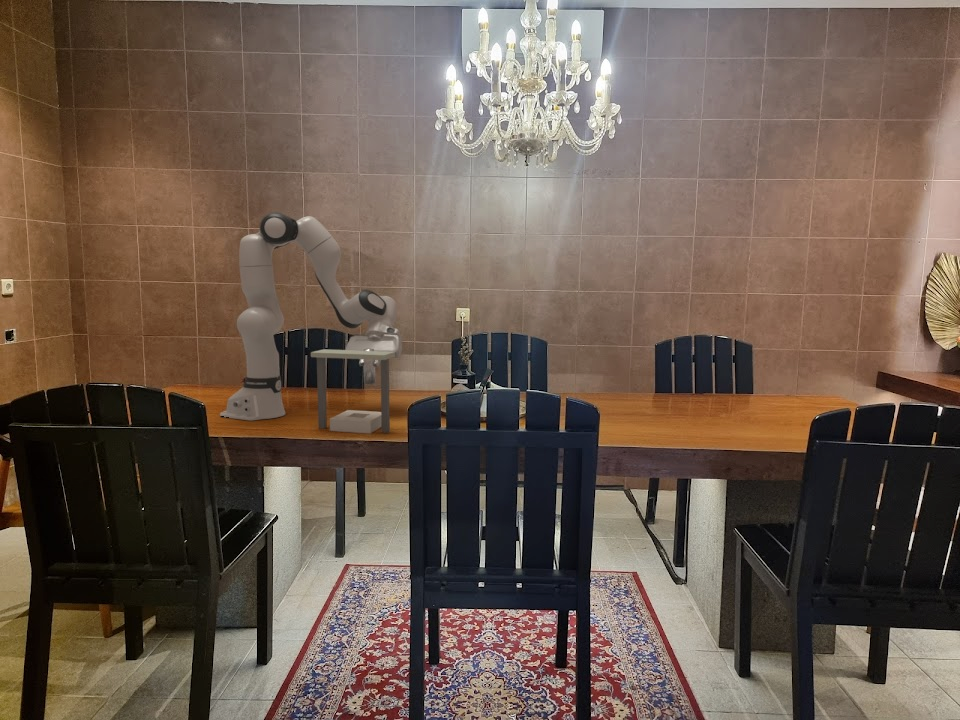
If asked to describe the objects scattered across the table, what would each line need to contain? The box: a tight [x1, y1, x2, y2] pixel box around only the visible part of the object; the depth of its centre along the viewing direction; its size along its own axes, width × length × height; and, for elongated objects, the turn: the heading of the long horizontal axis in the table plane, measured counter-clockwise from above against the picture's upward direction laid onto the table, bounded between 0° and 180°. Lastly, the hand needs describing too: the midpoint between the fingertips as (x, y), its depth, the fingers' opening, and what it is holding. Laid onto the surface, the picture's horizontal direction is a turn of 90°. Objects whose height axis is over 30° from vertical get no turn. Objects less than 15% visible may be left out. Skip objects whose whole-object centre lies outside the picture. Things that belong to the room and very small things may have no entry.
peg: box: [362, 349, 377, 385], centre depth 225 cm, size 4×4×12 cm
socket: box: [329, 409, 382, 434], centre depth 213 cm, size 14×14×4 cm
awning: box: [310, 349, 395, 434], centre depth 208 cm, size 25×9×26 cm, turn 77°
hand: (368, 365), depth 225 cm, fingers closed on peg, 4 cm apart
